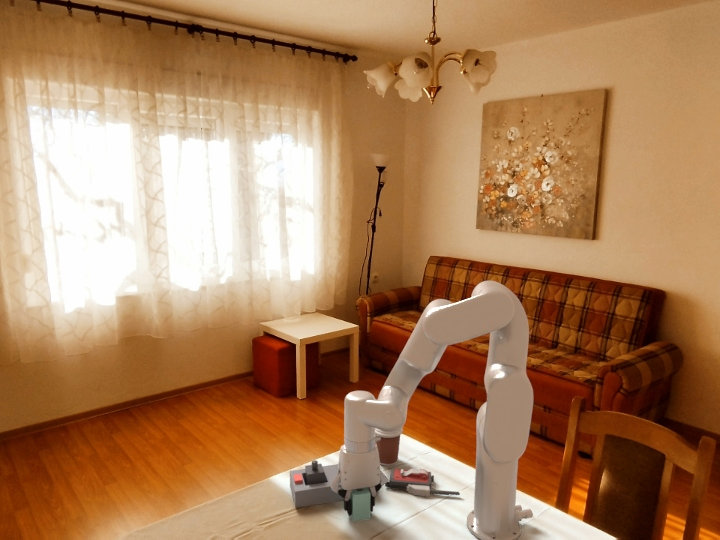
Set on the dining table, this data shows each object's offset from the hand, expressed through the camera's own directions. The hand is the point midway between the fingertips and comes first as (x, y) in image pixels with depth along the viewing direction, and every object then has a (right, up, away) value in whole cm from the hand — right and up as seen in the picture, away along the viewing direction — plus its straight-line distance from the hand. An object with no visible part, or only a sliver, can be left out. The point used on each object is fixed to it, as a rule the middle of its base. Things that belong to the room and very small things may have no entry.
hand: (359, 509), depth 127 cm
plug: (0, -1, 0) cm, 1 cm away
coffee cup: (+8, +2, +26) cm, 28 cm away
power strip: (-7, 0, +11) cm, 13 cm away
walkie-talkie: (+17, 0, +12) cm, 21 cm away
